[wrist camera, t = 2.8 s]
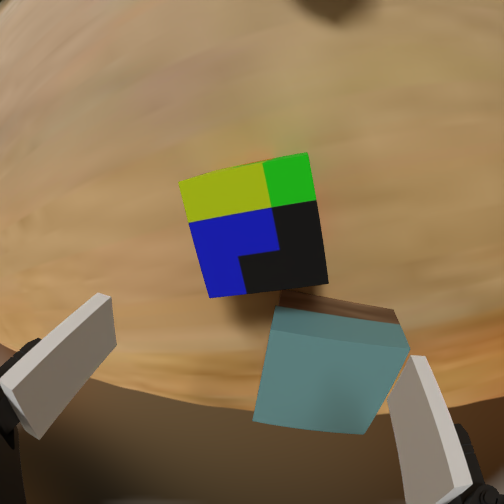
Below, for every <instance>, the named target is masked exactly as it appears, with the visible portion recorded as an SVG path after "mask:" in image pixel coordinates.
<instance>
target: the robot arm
mask: <svg viewBox="0 0 504 504" xmlns="http://www.w3.org/2000/svg"><path fill="white" fill-rule="evenodd" d="M116 345H117V343H116V335H115V328H114V319H113V310H112V300H111V296H107V295H104V294H101V293H97V294H95V295H94V296H93V297H92V298H90V299H89V300H88V301H87V302H86V303H84V304H83V305H82V306H81V307H80V308H78V309H77V310H76V311H75V312H74V313H72V314H71V315H70V316H69V317H68V318H66V319H65V320H64V321H63V322H62V323H61V324H59V325H58V326H57V327H56V328H55V329H54V330H52V331H51V332H50V333H49V334H48V335H47V336H46V337H44V338H43V339H40V338H37V339H35V340H33V341H30V342H28V343H27V344H26V345H24V346H23V347H22V348H21V349H20V351H18V352H17V353H15V354H14V355H13V357H11V358H10V359H9V360H8V361H6V362H5V363H4V364H3V365H2V366H1V367H0V504H27V503H26V497H25V492H24V486H23V479H22V470H21V461H20V452H19V434H18V428H17V426H16V425H17V424H18V423H19V422H21V424H22V426H23V427H24V429H25V431H27V432H28V433H30V434H31V435H33V436H34V437H36V438H37V439H39V440H40V438H41V437H42V436H43V434H44V433H45V432H46V431H47V429H48V428H49V427H50V426H51V424H52V423H53V422H54V421H55V419H56V418H57V417H58V416H59V414H60V413H61V412H62V411H63V409H64V408H65V407H66V406H67V404H68V403H69V402H70V400H71V399H72V398H73V397H74V396H75V394H76V393H77V392H78V391H79V389H80V388H81V387H82V386H83V385H84V383H85V382H86V381H87V380H88V379H89V377H90V376H91V375H92V374H93V373H94V371H95V370H96V369H97V368H98V367H99V365H100V364H101V363H102V362H103V361H104V360H105V358H106V357H107V356H108V355H109V354H110V352H111V351H112V350H113V349H114V348H115V347H116ZM387 402H388V407H389V411H390V415H391V420H392V425H393V430H394V435H395V440H396V445H397V449H398V456H399V461H400V467H401V473H402V479H403V485H404V493H405V500H406V504H504V495H502V494H499V492H498V491H497V489H496V488H494V487H493V486H490V485H486V484H485V482H484V480H483V476H482V473H481V470H480V467H479V464H478V461H477V458H476V455H475V454H474V449H473V446H472V445H471V441H470V439H469V436H468V433H467V432H466V430H465V429H464V428H463V427H462V426H461V424H453V422H452V419H451V417H450V414H449V411H448V409H447V406H446V404H445V401H444V399H443V396H442V394H441V391H440V389H439V387H438V384H437V382H436V379H435V377H434V375H433V373H432V370H431V368H430V366H429V364H428V361H427V359H426V357H425V356H415V355H410V357H409V359H408V361H407V363H406V365H405V367H404V369H403V371H402V373H401V375H400V377H399V379H398V381H397V382H396V384H395V386H394V388H393V390H392V392H391V393H390V395H389V397H388V399H387Z"/></svg>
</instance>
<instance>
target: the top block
mask: <svg viewBox="0 0 504 504" xmlns="http://www.w3.org/2000/svg"><path fill="white" fill-rule="evenodd" d="M409 351H410V347H409V344H408V342H407V340H406V337H405V335H404V333H403V330H402V328H401V326H400V324H392V323H384V322H377V321H370V320H363V319H356V318H349V317H342V316H336V315H329V314H323V313H317V312H311V311H305V310H299V309H293V308H287V307H281V306H275V311H274V316H273V320H272V325H271V330H270V335H269V340H268V346H267V351H266V356H265V361H264V366H263V371H262V376H261V381H260V386H259V391H258V396H257V401H256V406H255V411H254V416H253V420H252V421H255V422H261V423H266V424H272V425H279V426H285V427H291V428H299V429H307V430H315V431H325V432H335V433H349V434H364V433H365V432H366V430H367V429H368V427H369V425H370V424H371V422H372V420H373V419H374V417H375V415H376V414H377V412H378V410H379V409H380V407H381V405H382V403H383V402H384V400H385V398H386V396H387V394H388V392H389V391H390V389H391V387H392V385H393V383H394V381H395V379H396V377H397V375H398V373H399V371H400V369H401V367H402V365H403V363H404V361H405V359H406V357H407V355H408V353H409Z"/></svg>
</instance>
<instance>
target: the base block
mask: <svg viewBox="0 0 504 504" xmlns="http://www.w3.org/2000/svg"><path fill="white" fill-rule="evenodd" d="M278 306H281V307H287V308H293V309H299V310H305V311H311V312H317V313H323V314H329V315H336V316H342V317H349V318H356V319H363V320H370V321H377V322H384V323H392V324H400V323H399V321H398V319H397V317H396V315H395V312H394V310H392V309H387V308H381V307H375V306H370V305H364V304H359V303H353V302H348V301H343V300H337V299H332V298H327V297H322V296H316V295H311V294H306V293H301V292H296V291H291V290H286V289H285V290H281V295H280V299H279V304H278Z"/></svg>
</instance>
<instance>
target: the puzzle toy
mask: <svg viewBox="0 0 504 504" xmlns="http://www.w3.org/2000/svg"><path fill="white" fill-rule="evenodd" d="M178 183H179V187H180V191H181V195H182V199H183V203H184V207H185V211H186V215H187V219H188V223H189V227H190V231H191V234H192V238H193V242H194V245H195V249H196V253H197V256H198V260H199V264H200V267H201V271H202V274H203V278H204V281H205V285H206V288H207V291H208V295H209V298H216V297H225V296H234V295H243V294H252V293H260V292H269V291H277V290H285V289H292V288H300V287H308V286H315V285H322V284H329V282H328V274H327V266H326V259H325V252H324V245H323V238H322V231H321V225H320V219H319V213H318V207H317V201H316V195H315V189H314V184H313V178H312V173H311V168H310V162H309V157H308V154H307V152H306V153H300V154H294V155H289V156H283V157H278V158H273V159H267V160H262V161H257V162H252V163H248V164H243V165H238V166H234V167H229V168H225V169H220V170H216V171H212V172H209V173H205V174H202V175H199V176H196V177H193V178H189V179H186V180H183V181H180V182H178Z"/></svg>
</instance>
